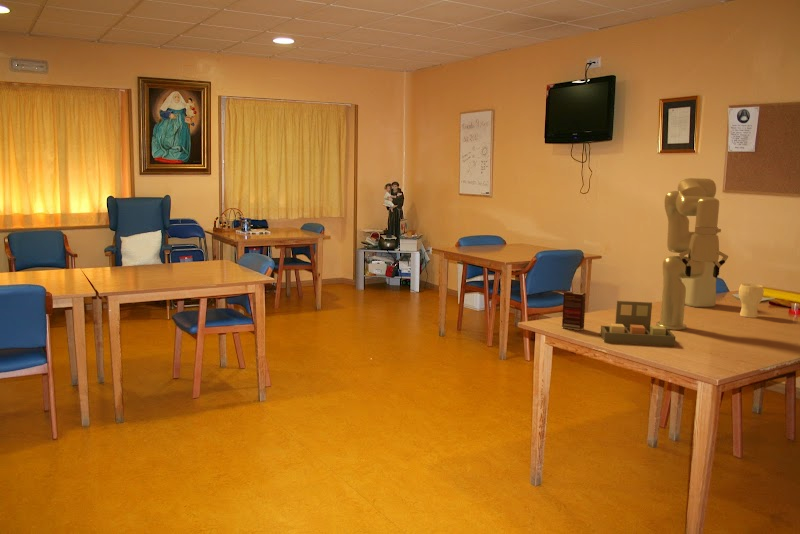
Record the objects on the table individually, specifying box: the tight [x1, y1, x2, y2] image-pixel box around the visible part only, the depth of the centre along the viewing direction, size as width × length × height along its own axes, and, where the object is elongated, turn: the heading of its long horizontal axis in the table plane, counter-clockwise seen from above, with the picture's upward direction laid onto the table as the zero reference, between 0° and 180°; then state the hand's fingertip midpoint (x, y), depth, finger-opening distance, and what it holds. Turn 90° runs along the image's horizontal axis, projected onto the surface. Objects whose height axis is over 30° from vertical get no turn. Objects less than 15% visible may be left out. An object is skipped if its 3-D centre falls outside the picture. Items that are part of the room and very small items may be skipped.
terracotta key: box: [630, 325, 645, 334], centre depth 283 cm, size 5×5×3 cm
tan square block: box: [609, 322, 625, 333], centre depth 284 cm, size 5×5×3 cm
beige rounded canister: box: [681, 255, 717, 308], centre depth 358 cm, size 15×15×28 cm
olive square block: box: [650, 325, 666, 335], centre depth 282 cm, size 5×5×3 cm
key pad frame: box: [600, 325, 676, 347], centre depth 283 cm, size 12×27×4 cm, turn 81°
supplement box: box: [561, 290, 587, 332], centre depth 300 cm, size 9×5×16 cm, turn 59°
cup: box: [738, 283, 765, 319], centre depth 334 cm, size 11×11×15 cm
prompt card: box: [614, 300, 653, 328], centre depth 292 cm, size 2×14×14 cm, turn 82°
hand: (701, 276), depth 262 cm, fingers open, 9 cm apart
